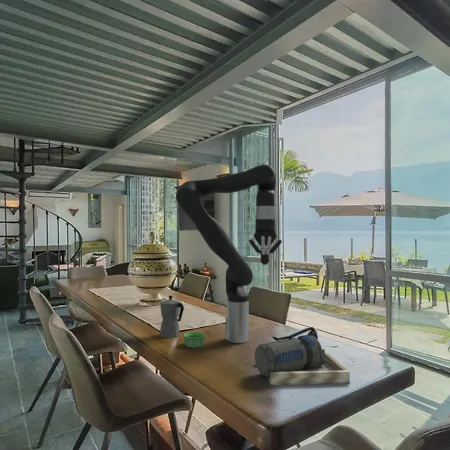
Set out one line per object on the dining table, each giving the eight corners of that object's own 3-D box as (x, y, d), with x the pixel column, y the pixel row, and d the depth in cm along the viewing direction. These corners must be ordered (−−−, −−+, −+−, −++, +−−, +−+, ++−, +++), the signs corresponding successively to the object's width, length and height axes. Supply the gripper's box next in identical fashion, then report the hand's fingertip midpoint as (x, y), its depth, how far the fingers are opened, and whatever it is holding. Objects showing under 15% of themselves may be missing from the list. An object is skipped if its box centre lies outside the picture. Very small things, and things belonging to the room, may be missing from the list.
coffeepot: (152, 334, 158) (153, 294, 159) (168, 330, 165) (169, 292, 166) (174, 341, 148) (175, 299, 149) (190, 337, 155) (191, 296, 156)
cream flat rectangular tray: (270, 385, 106) (271, 373, 106) (258, 363, 124) (258, 353, 124) (349, 383, 109) (349, 371, 109) (326, 361, 127) (326, 352, 127)
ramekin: (188, 341, 150) (188, 330, 150) (208, 343, 147) (208, 332, 147) (179, 347, 141) (180, 336, 141) (200, 349, 139) (200, 338, 139)
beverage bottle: (249, 337, 118) (307, 327, 129) (256, 379, 114) (314, 365, 125) (265, 336, 109) (325, 325, 120) (273, 381, 105) (334, 365, 117)
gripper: (249, 217, 127) (249, 265, 126) (285, 218, 128) (284, 265, 127) (246, 218, 134) (245, 263, 133) (279, 219, 135) (279, 263, 135)
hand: (264, 264), depth 130 cm, fingers closed
